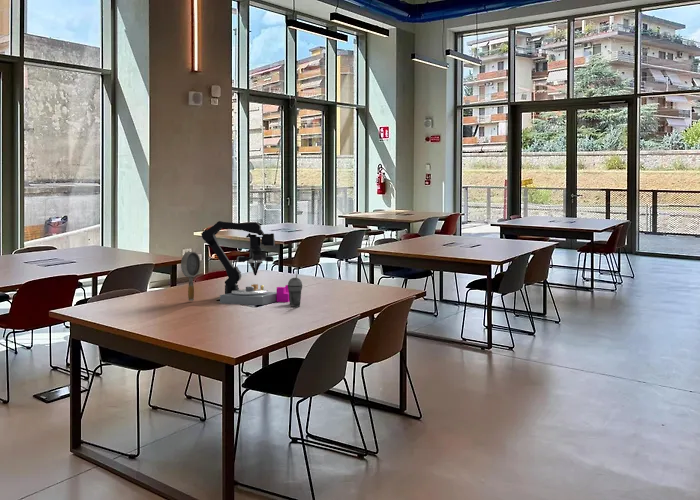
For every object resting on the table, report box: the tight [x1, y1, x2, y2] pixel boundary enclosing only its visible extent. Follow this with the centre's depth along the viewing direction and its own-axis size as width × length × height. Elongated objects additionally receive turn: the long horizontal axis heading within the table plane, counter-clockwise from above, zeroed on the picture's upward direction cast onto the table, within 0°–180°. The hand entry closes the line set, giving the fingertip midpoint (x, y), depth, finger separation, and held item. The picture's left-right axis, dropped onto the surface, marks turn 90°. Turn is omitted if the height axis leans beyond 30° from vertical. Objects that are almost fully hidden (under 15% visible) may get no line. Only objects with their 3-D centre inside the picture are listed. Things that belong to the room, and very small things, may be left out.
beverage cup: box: [287, 268, 303, 309], centre depth 314 cm, size 7×7×20 cm
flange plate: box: [232, 283, 269, 295], centre depth 325 cm, size 20×18×4 cm
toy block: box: [276, 284, 290, 303], centre depth 332 cm, size 15×6×8 cm, turn 166°
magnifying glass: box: [180, 251, 201, 302], centre depth 330 cm, size 13×3×25 cm, turn 160°
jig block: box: [219, 291, 277, 306], centre depth 326 cm, size 23×23×4 cm
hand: (255, 275), depth 344 cm, fingers closed
